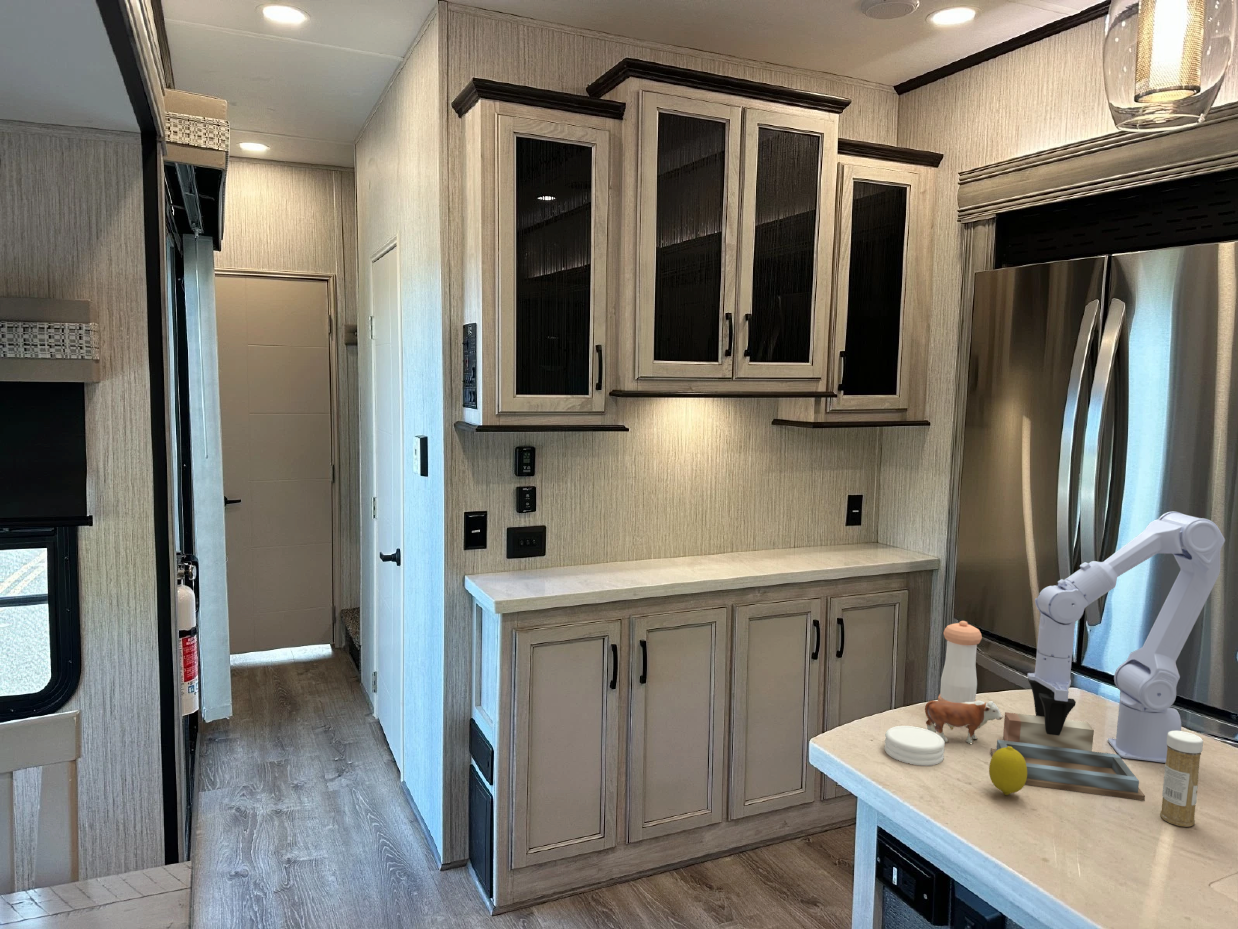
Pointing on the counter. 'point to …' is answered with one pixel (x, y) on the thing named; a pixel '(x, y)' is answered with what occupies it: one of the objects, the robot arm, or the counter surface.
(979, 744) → the counter surface
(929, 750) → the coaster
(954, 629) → the pepper shaker
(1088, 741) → the two-tone wooden block
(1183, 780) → the spice jar
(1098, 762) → the tray
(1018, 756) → the lemon
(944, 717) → the bull figurine
